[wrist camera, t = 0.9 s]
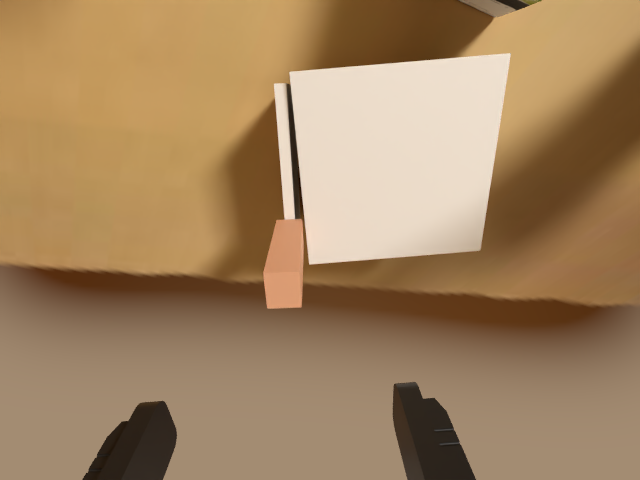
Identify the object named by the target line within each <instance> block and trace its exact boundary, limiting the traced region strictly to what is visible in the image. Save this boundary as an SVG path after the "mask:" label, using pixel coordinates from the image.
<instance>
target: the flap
mask: <svg viewBox="0 0 640 480" xmlns="http://www.w3.org/2000/svg"><path fill="white" fill-rule="evenodd" d="M274 90H275V103H276V116H277V128H278V141H279V154H280V167H281V180H282V193H283V205H284V218H285V220H276V224H275V228H274V232H273V236H272V240H271V244H270V248H269V252H268V256H267V260H266V264H265V268H264V272H263V276H264V285H265V293H266V302H267V309H272V308H297V307H302V284H303V256H304V240H303V221H302V219H300V200H299V182H298V164H297V146H296V131H295V122H294V112H293V102H292V92H291V85H290V84H287V83H280V84H274Z"/></svg>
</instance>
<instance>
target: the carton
mask: <svg viewBox="0 0 640 480" xmlns="http://www.w3.org/2000/svg"><path fill="white" fill-rule="evenodd" d="M510 55H511V53H508V54H496V55H484V56H472V57H460V58H448V59H436V60H424V61H412V62H400V63H388V64H376V65H365V66H353V67H341V68H329V69H317V70H305V71H293V72H289V73H290V83H291V92H292V102H293V112H294V122H295V131H296V141H297V151H298V160H299V170H300V180H301V189H302V199H303V209H304V219H305V228H306V238H307V248H308V257H309V265H310V264H322V263H335V262H347V261H359V260H372V259H384V258H396V257H409V256H421V255H433V254H446V253H458V252H470V251H480V249H481V243H482V236H483V230H484V224H485V217H486V211H487V204H488V198H489V191H490V185H491V178H492V172H493V165H494V159H495V152H496V146H497V139H498V133H499V126H500V120H501V114H502V107H503V101H504V94H505V88H506V81H507V75H508V68H509V62H510Z"/></svg>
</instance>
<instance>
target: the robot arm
mask: <svg viewBox="0 0 640 480" xmlns="http://www.w3.org/2000/svg"><path fill="white" fill-rule="evenodd" d="M393 421H394V427H395V432H396V436H397V440H398V444H399V448H400V452H401V456H402V459H403V464H404V468H405V472H406V475H407V479H408V480H476V479H475V476H474V474H473V472H472V469H471V467H470V465H469V463H468V460H467V458H466V455H465V453H464V451H463V449H462V446H461V445H460V443H459V439H458V437H457V435H456V432H455V431H454V428H453V425H452V423H451V421H450V418H449V416H448V414H447V412H446V410H445V409H444V408H443V407H442V406H441V405H440V404H439V403H438V401H437V400H436V399H435V398H428V399H423V398H422V395H421V392H420V390H419V387H418V385H417V383H416V382H410V383H398V384H394V391H393ZM176 438H177V432H176V428H175V425H174V423H173V420H172V417H171V415H170V412H169V410H168V407H167V405H166V403H165V402H164V401H158V402H145V403H140V404H139V405H138V406H137V407H136V409H135V411H134V412H133V414H132V416H131V418H130V419H129V421H124V422H121V423H120V424H119V425H118V426H117V427H116V428H115V430H114V431H113V432H112V433H111V434H110V435H109V436H108V437H107V438H106V440H105V442H104V444H103V445H102V447H101V449H100V450H99V452H98V454H97V458H95V459H94V461H93V462H92V464H91V466H90V468H89V471H88V473H86V475H85V476H84V478H83V480H163V478H164V475H165V473H166V470H167V467H168V464H169V462H170V459H171V457H172V454H173V451H174V448H175V445H176Z"/></svg>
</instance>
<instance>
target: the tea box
mask: <svg viewBox="0 0 640 480" xmlns="http://www.w3.org/2000/svg"><path fill="white" fill-rule="evenodd" d="M459 1H461V2H463V3H465V4H467V5H470V6H472V7H474V8H476V9H478V10H480V11H482V12H485V13H487V14H489V15H491V16H493V17H499V16H502V15H505V14H508V13H511V12H513V11H516V10H519V9H522V8H525V7H527V6H529V5H531V4H534V3H537V2H539V1H542V0H459Z"/></svg>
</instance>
